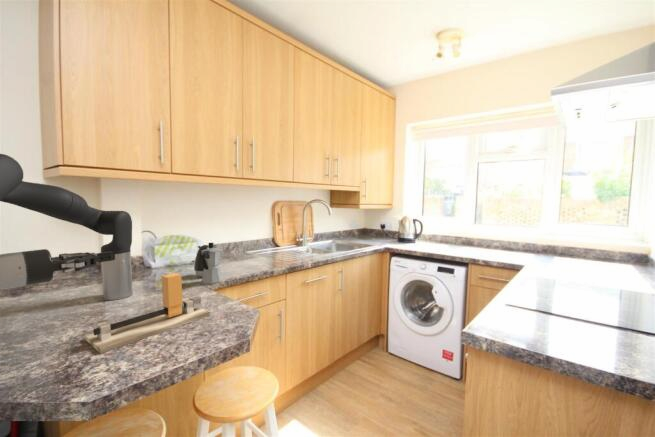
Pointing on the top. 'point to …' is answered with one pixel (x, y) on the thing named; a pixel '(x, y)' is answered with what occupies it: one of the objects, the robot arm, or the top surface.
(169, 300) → the upright wooden block
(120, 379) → the top surface
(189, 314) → the linear slide rail
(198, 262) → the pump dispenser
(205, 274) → the coffee maker
